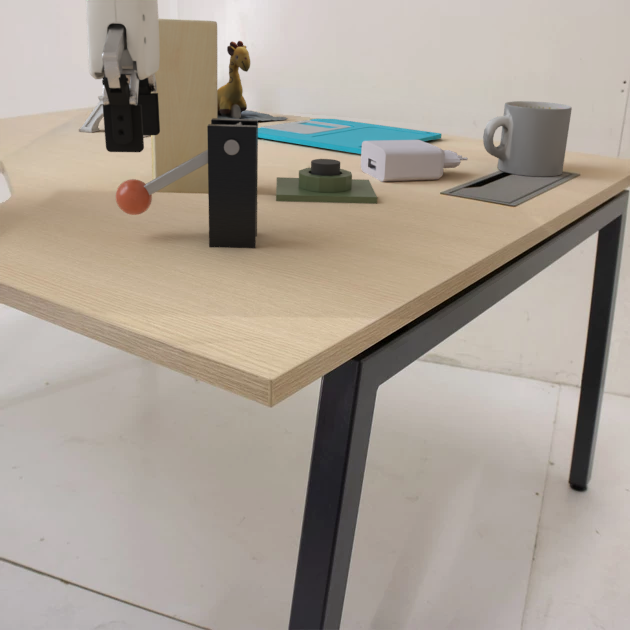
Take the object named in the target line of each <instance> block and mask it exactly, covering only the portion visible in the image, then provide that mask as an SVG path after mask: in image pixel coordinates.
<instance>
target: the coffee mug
mask: <svg viewBox="0 0 630 630" xmlns="http://www.w3.org/2000/svg"><path fill="white" fill-rule="evenodd" d="M503 108H504V109H503V115H502V116H501V115H500V116H495V117H493V118H491V119H490V120H488V122H487V123H486V124H485V127H484V129H483V137H482V139H483V140H482V141H483V142H482V143H483V147H484V150H485V151H486V152H487V153H488V154H489V155H491V156H492V157H494V158H496V159H497V170H499V171H501V172H503V173H507V174H511V175H517V176H524V177H541V178H542V177H543V178H545V177H547V178H548V177H556V176H560V175H562V174H563V170H564V164H565V157H566V151H567V150H566V149H567V144H568V137H569V130H570V123H571V116H572V110H573V109H572V106H570V105H569V104H568V105H567V104H563V103H556V102H545V101H533V100H532V101H531V100H512V101H507V102H505V103H504V107H503ZM500 127H501V133H500V134H501V135H500V143H499V145H498V146H495V143H494V136H495V133H496V131H497V130H498V128H500Z"/></svg>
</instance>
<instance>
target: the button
mask: <svg viewBox="0 0 630 630" xmlns="http://www.w3.org/2000/svg"><path fill="white" fill-rule="evenodd" d="M310 168H311V174H313V175H320V176H336V175H340V169H341V161H340V160H337V159H332V158H329V159H328V158H316V159H312V160H311V161H310Z"/></svg>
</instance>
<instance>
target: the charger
mask: <svg viewBox="0 0 630 630" xmlns="http://www.w3.org/2000/svg"><path fill="white" fill-rule="evenodd" d="M461 161H468V157H465V156H464V157H463V155H460V154H459V155H458V153H457V152H455V151H453V150H450V149H442V148H440V147H439V146H437V145H434V144H431V143H429V142H427V141H421V140H380V141H363V142H362V150H361V154H360V169H361V172H363V173H364V174H367V175H368V176H370V177H372V178H374V179H375V180H377V181H379V182H409V181H435V180H436V181H438V180H439V179H440V178H441V177H442V176H443V175H444V169H456V168H457V167H459V166H460V165H461V163H462V162H461Z"/></svg>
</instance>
